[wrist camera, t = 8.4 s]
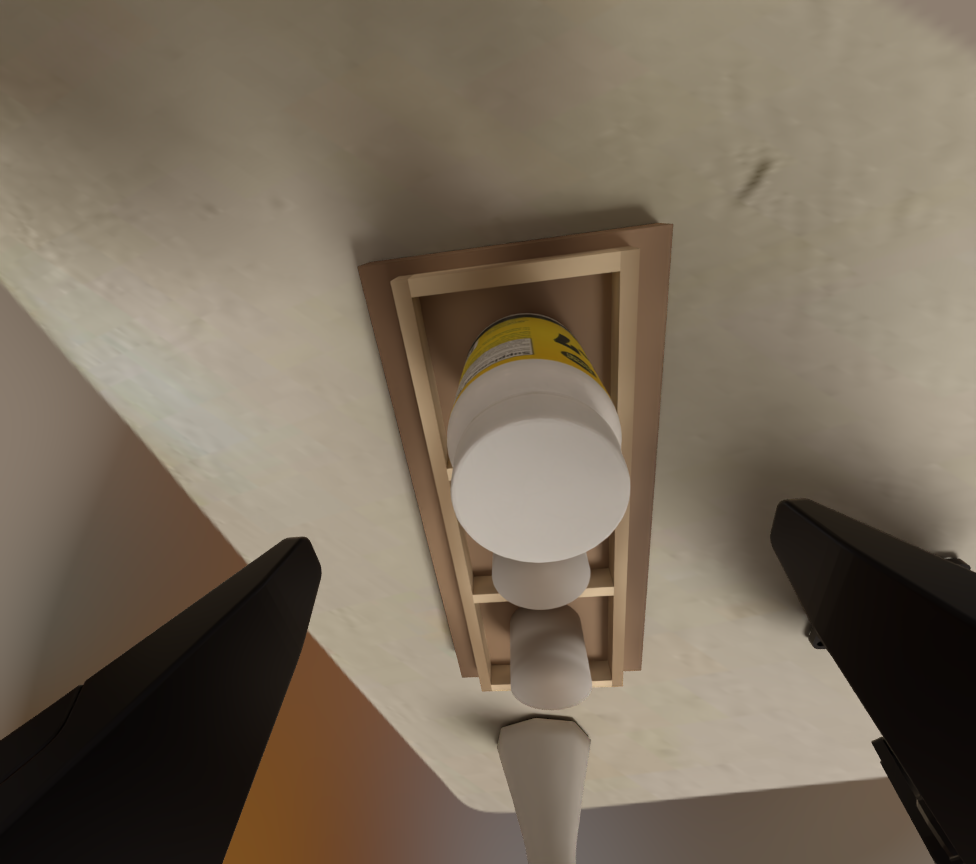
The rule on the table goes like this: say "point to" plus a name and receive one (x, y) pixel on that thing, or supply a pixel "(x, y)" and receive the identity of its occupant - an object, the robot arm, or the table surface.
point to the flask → (546, 784)
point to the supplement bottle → (535, 444)
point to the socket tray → (423, 429)
